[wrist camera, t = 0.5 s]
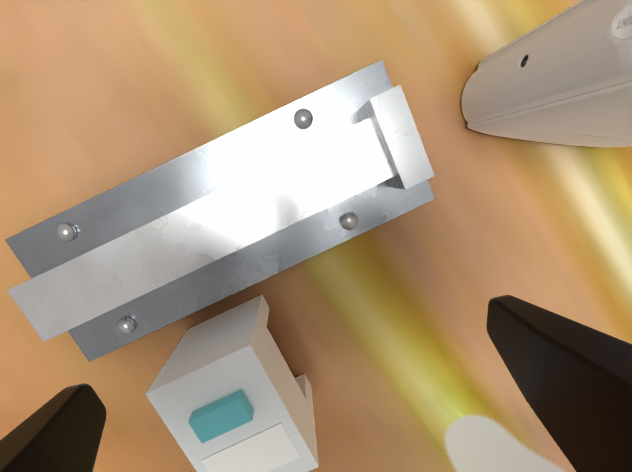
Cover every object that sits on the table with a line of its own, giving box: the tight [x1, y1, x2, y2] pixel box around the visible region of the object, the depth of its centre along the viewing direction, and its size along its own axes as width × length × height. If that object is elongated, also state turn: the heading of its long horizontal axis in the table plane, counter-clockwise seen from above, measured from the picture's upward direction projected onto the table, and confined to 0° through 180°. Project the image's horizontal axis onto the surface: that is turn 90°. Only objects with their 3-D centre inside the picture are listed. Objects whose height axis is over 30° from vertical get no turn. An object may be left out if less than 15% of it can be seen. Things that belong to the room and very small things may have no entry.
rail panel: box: [5, 60, 435, 362], centre depth 17 cm, size 8×22×4 cm, turn 115°
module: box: [145, 295, 319, 472], centre depth 17 cm, size 7×5×7 cm
